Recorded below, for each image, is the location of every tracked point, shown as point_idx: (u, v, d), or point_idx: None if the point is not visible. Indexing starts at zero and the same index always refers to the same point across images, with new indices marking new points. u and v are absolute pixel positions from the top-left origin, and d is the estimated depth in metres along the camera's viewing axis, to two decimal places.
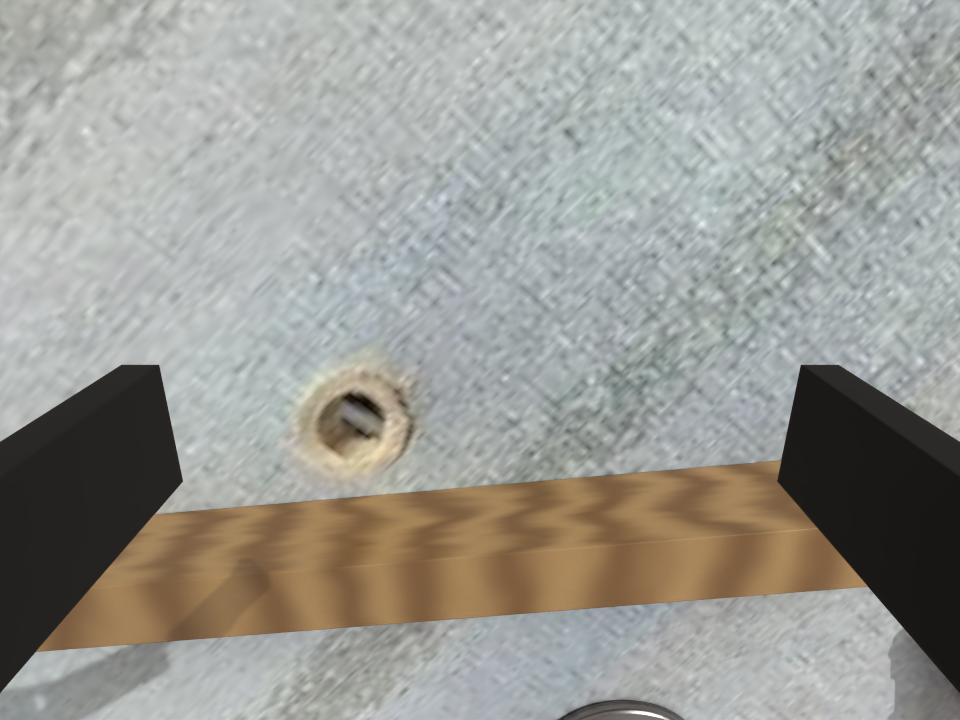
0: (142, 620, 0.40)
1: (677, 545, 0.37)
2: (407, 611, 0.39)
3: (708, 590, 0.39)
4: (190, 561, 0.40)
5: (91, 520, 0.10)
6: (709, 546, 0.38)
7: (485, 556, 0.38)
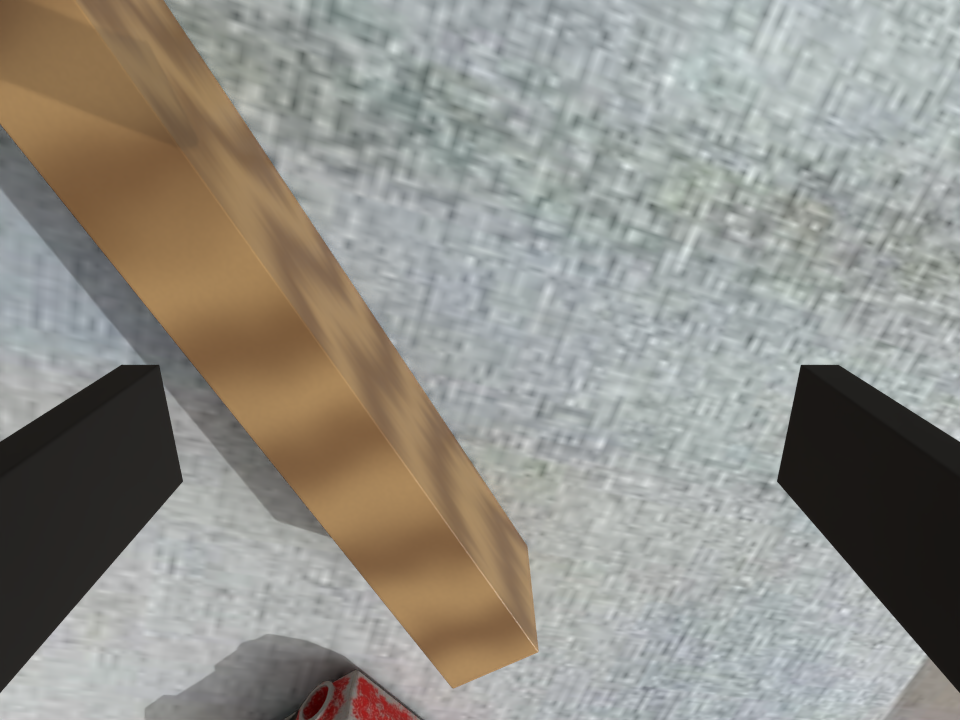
0: None
1: (230, 238, 0.22)
2: None
3: (188, 333, 0.23)
4: None
5: (91, 520, 0.10)
6: (258, 288, 0.23)
7: None
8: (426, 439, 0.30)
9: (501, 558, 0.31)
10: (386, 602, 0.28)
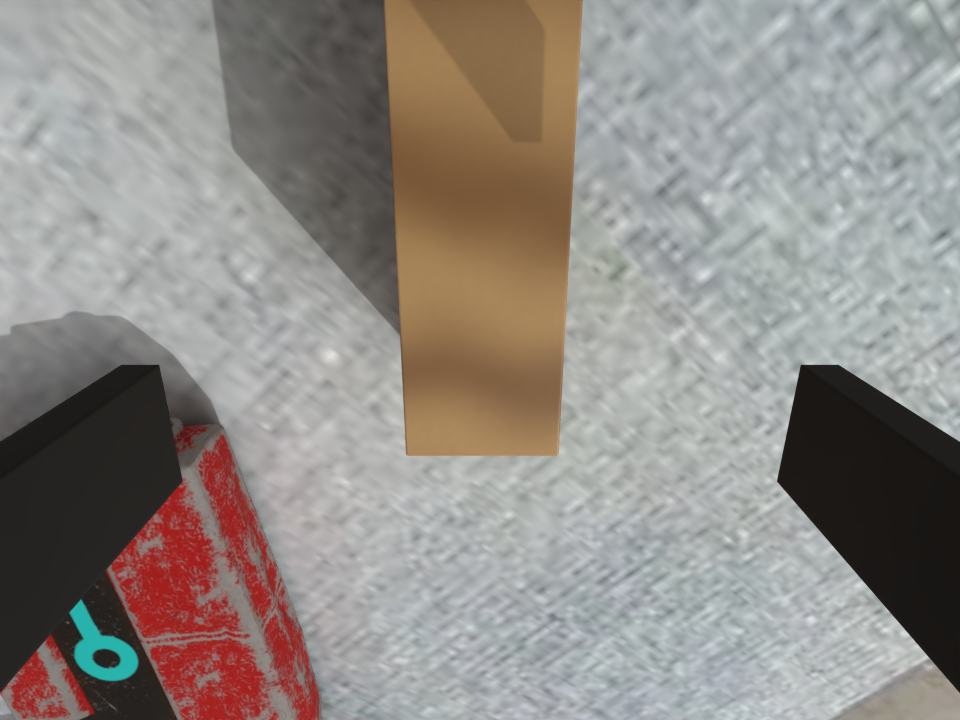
0: None
1: None
2: None
3: None
4: None
5: (91, 520, 0.10)
6: None
7: None
8: None
9: None
10: (400, 263, 0.17)
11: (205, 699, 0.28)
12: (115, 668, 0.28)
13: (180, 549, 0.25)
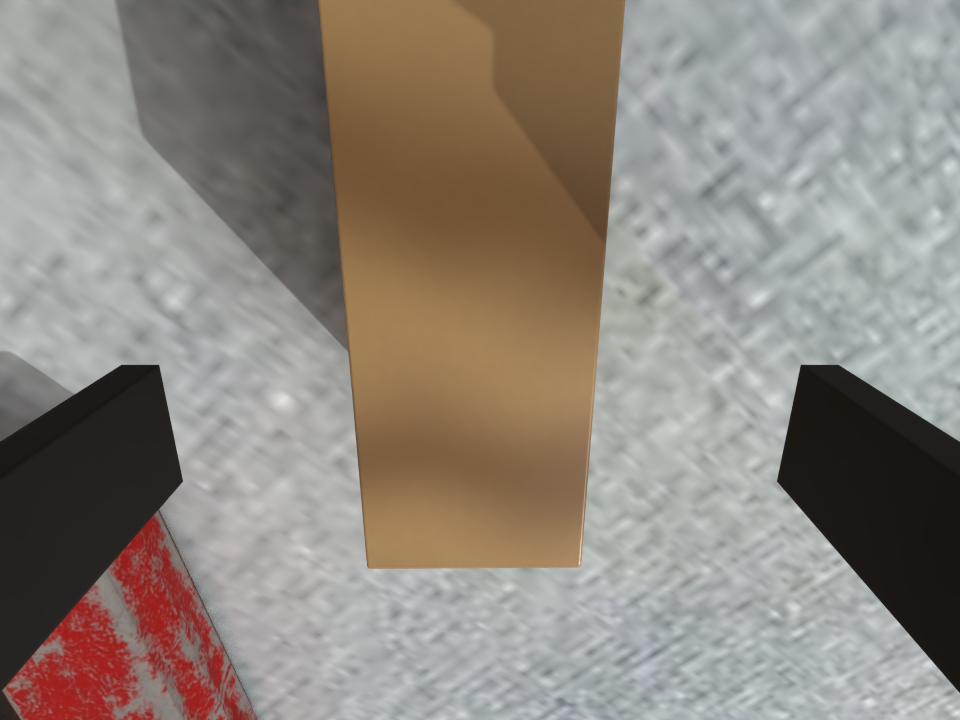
0: None
1: None
2: None
3: None
4: None
5: (91, 520, 0.10)
6: None
7: None
8: None
9: None
10: (350, 306, 0.11)
11: None
12: None
13: (86, 655, 0.19)
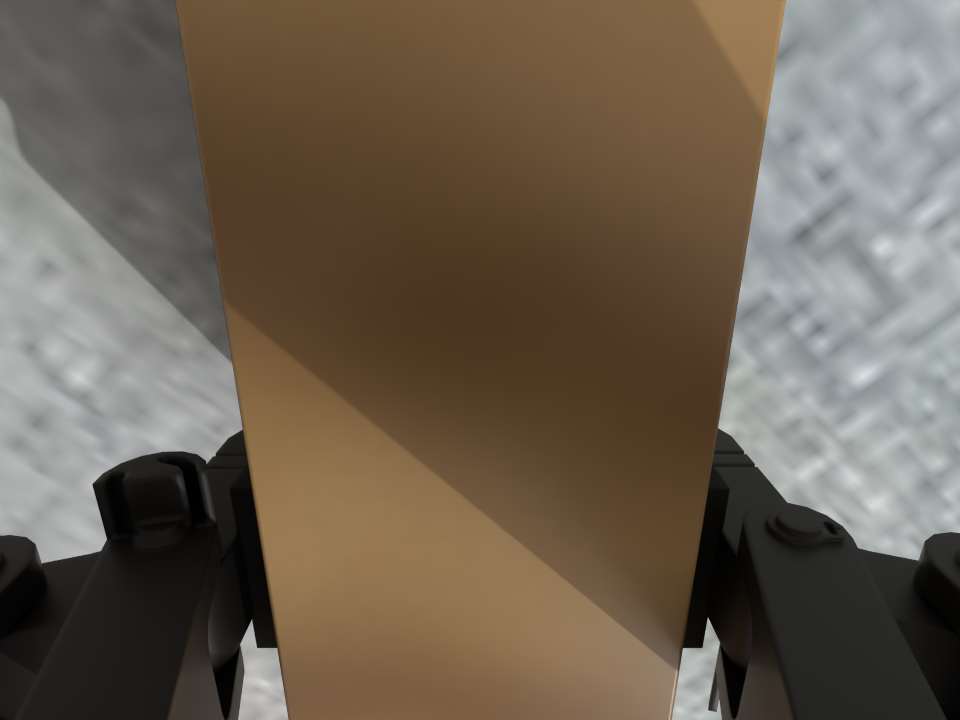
0: None
1: None
2: None
3: None
4: None
5: None
6: None
7: None
8: None
9: None
10: (259, 475, 0.06)
11: None
12: None
13: None
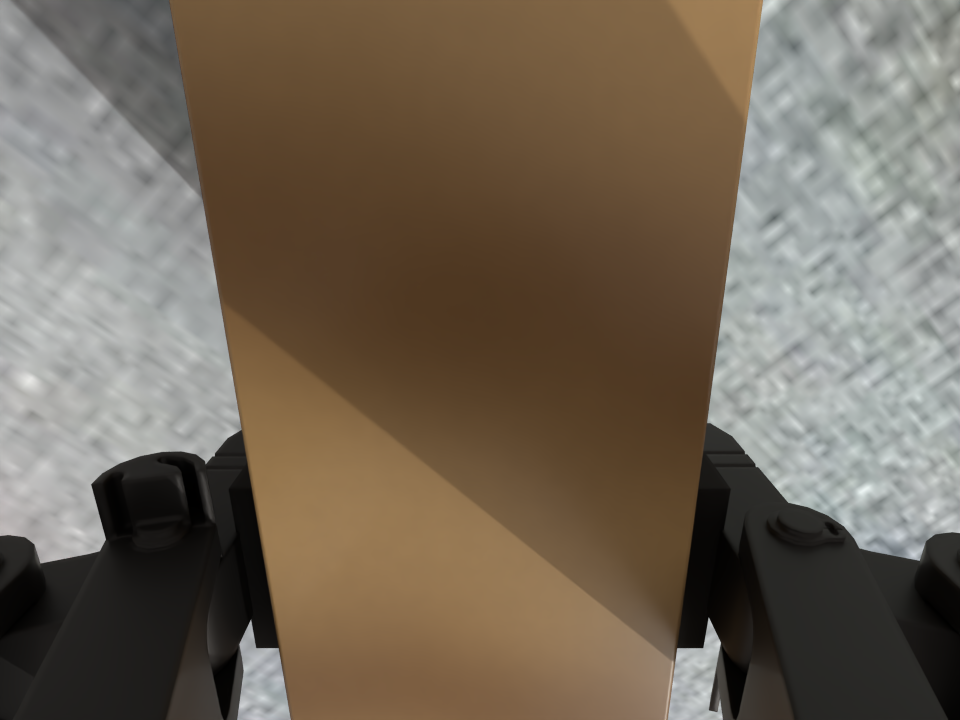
0: None
1: None
2: None
3: None
4: None
5: None
6: None
7: None
8: None
9: None
10: (257, 468, 0.06)
11: None
12: None
13: None
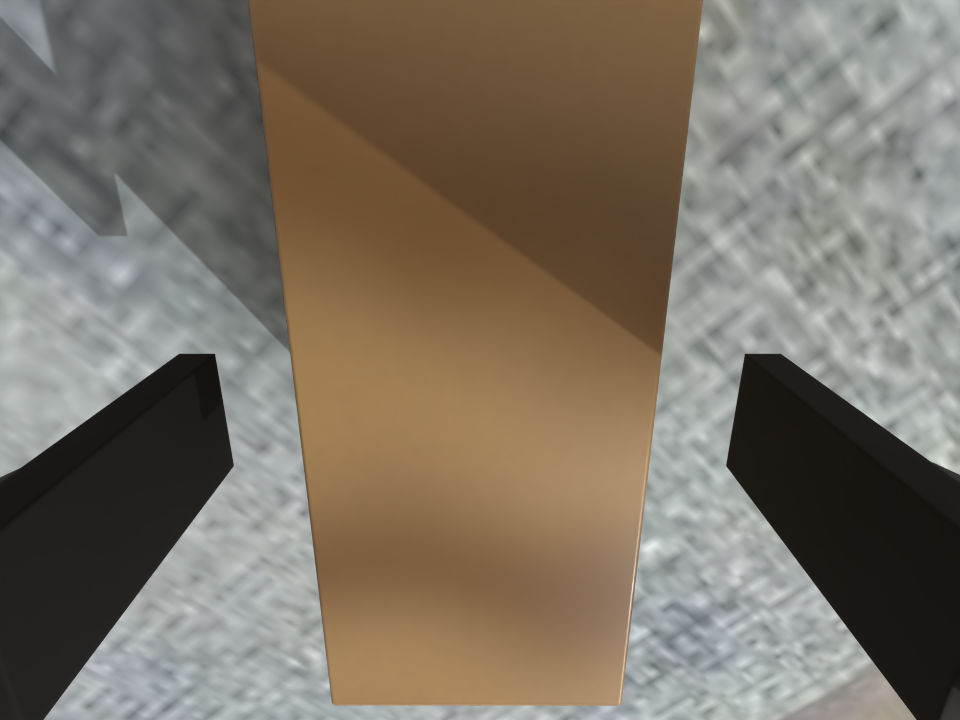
0: None
1: None
2: None
3: None
4: None
5: (162, 498, 0.10)
6: None
7: None
8: None
9: None
10: (298, 359, 0.08)
11: None
12: None
13: None
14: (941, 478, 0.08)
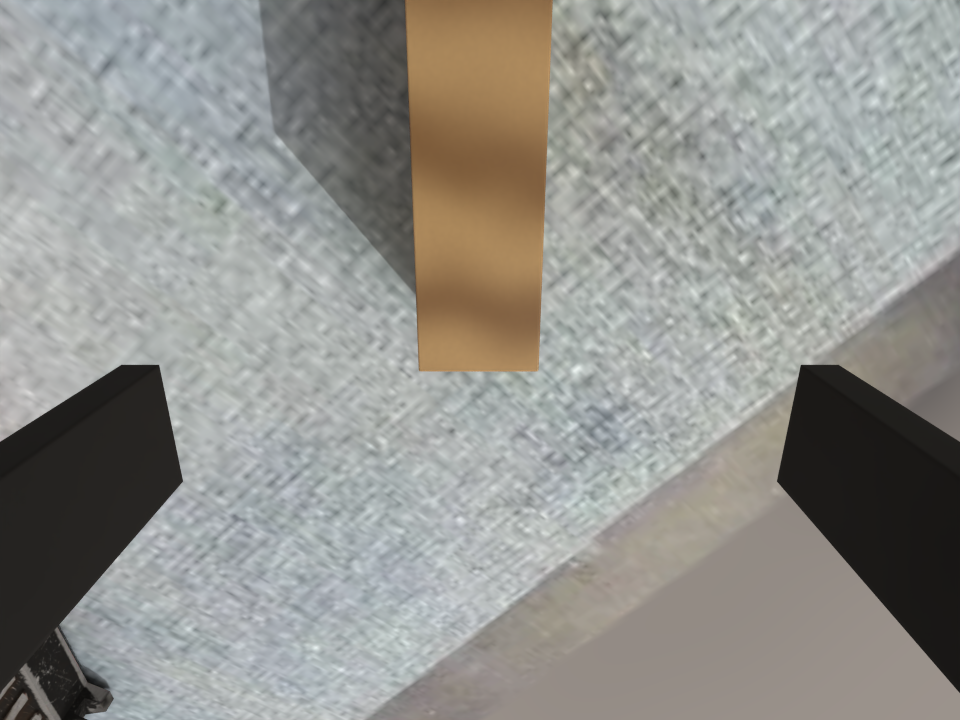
0: None
1: None
2: None
3: None
4: None
5: (91, 520, 0.10)
6: None
7: None
8: None
9: None
10: (416, 215, 0.22)
11: None
12: None
13: None
14: None
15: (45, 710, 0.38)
